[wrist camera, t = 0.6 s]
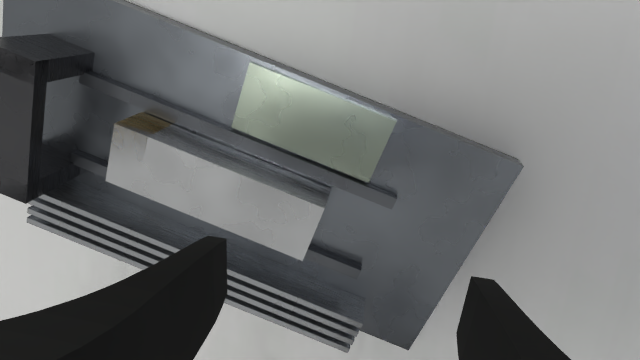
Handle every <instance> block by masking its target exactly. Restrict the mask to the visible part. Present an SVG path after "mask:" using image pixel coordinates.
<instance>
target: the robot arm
mask: <svg viewBox="0 0 640 360" xmlns="http://www.w3.org/2000/svg"><path fill="white" fill-rule="evenodd" d="M226 296H227V239H226V238H219V237H213V236H206V237H204V238H202V239H200V240H198V241H196V242H194V243H192V244H190V245H189V246H187V247H185V248H183V249H181V250H180V251H178V252H176V253H174V254H172V255H171V256H169V257H167V258H165V259H163V260H161V261H160V262H158V263H156V264H154V265H152V266H150V267H148V268H146V269H144V270H142V271H140V272H138V273H136V274H134V275H132V276H130V277H128V278H126V279H124V280H122V281H119V282H117V283H115V284H113V285H110V286H108V287H106V288H103V289H101V290H98V291H96V292H93V293H90V294H88V295H85V296H83V297H80V298H77V299H74V300H71V301H68V302H65V303H62V304H59V305H56V306H53V307H49V308H46V309H43V310H40V311H37V312H33V313H29V314H26V315H22V316H18V317H14V318H10V319H6V320H2V321H0V360H193V359H194V357H195V356H196V354H197V352H198V351H199V349H200V347H201V346H202V344H203V342H204V341H205V339H206V337H207V336H208V334H209V332H210V331H211V329H212V327H213V325H214V324H215V322H216V320H217V317H218V315H219V313H220V311H221V308H222V306H223V303H224V301H225V299H226ZM457 345H458V356H459V360H571V359H570V358H569V357H568V356H567V355H565V354H564V353H563V352H562V351H561V350H560V349H559V348H558V347H557V346H556V345H555V344H554V343H553V342H552V341H551V340H550V339H549V338H548V337H547V336H546V335H545V334H544V333H543V332H542V331H541V330H540V329H539V328H538V327H537V326H536V325H535V324H534V323H533V322H532V321H531V320H530V319H529V318H528V316H527V315H526V314H525V313H524V312H523V311H522V310H521V309H520V308H519V307H518V306H517V304H516V303H515V302H514V301H513V300H512V299H511V298H510V297H509V296H508V295H507V293H506V292H505V291H504V290H503V289H502V288H501V287H500V286H499V285H498V284H497V283H496V282H495V281H494V280H492V279H485V278H479V277H472V276H471V279H470V283H469V287H468V291H467V295H466V298H465V302H464V306H463V310H462V314H461V318H460V322H459V325H458V329H457Z"/></svg>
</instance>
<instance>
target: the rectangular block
mask: <svg viewBox="0 0 640 360" xmlns="http://www.w3.org/2000/svg"><path fill="white" fill-rule="evenodd" d="M105 181H107V182H109V183H112V184H114V185H117V186H119V187H121V188H124V189H126V190H129V191H131V192H134V193H136V194H139V195H141V196H144V197H146V198H149V199H151V200H154V201H156V202H158V203H161V204H163V205H166V206H168V207H171V208H173V209H176V210H178V211H181V212H183V213H186V214H188V215H190V216H193V217H195V218H198V219H200V220H203V221H205V222H208V223H210V224H213V225H215V226H218V227H220V228H222V229H225V230H227V231H230V232H232V233H235V234H237V235H240V236H242V237H245V238H247V239H250V240H252V241H254V242H257V243H259V244H262V245H264V246H267V247H269V248H272V249H274V250H277V251H279V252H282V253H284V254H286V255H289V256H291V257H294V258H296V259H299V260H301V261H303V259H304V257H305V254H306V252H307V249H308V247H309V245H310V242H311V240H312V238H313V235H314V233H315V230H316V228H317V226H318V223H319V221H320V219H321V216H322V214H323V211H324V209H325V206H326V203H327V200H328V197H329V194H330V191H331V188H328V187H326V186H323V185H321V184H318V183H316V182H313V181H311V180H308V179H306V178H303V177H301V176H298V175H296V174H294V173H291V172H289V171H286V170H284V169H281V168H279V167H276V166H274V165H271V164H269V163H266V162H264V161H261V160H259V159H257V158H254V157H252V156H249V155H247V154H244V153H242V152H239V151H237V150H234V149H232V148H229V147H227V146H224V145H222V144H219V143H217V142H215V141H212V140H210V139H207V138H205V137H202V136H200V135H197V134H195V133H192V132H190V131H187V130H185V129H182V128H180V127H177V126H175V125H173V124H170V123H168V122H165V121H163V120H160V119H158V118H155V117H153V116H150V115H148V114H145V113H143V112H140V113H138V114H136V115H133V116H131V117H128V118H126V119H124V120H121V121H119V122H116V123H114V129H113V135H112V142H111V148H110V154H109V161H108V167H107V174H106V180H105Z"/></svg>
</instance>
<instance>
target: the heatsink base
mask: <svg viewBox="0 0 640 360" xmlns="http://www.w3.org/2000/svg"><path fill="white" fill-rule="evenodd" d="M140 112H143V113H145V114H148V115H150V116H153V117H155V118H158V119H160V120H163V121H165V122H168V123H170V124H173V125H175V126H177V127H180V128H182V129H185V130H187V131H190V132H192V133H195V134H197V135H200V136H202V137H205V138H207V139H210V140H212V141H215V142H217V143H219V144H222V145H224V146H227V147H229V148H232V149H234V150H237V151H239V152H242V153H244V154H247V155H249V156H252V157H254V158H257V159H259V160H261V161H264V162H266V163H269V164H271V165H274V166H276V167H279V168H281V169H284V170H286V171H289V172H291V173H294V174H296V175H298V176H301V177H303V178H306V179H308V180H311V181H313V182H316V183H318V184H321V185H323V186H326V187H328V188H331V191H330V194H329V197H328V200H327V203H326V206H325V209H324V211H323V214H322V216H321V219H320V221H319V223H318V226H317V228H316V230H315V233H314V235H313V238H312V240H311V242H310V245H309V247H308V249H307V252H306V254H305V257H304V259H303V261H301V260H299V259H296V258H294V257H291V256H289V255H286V254H284V253H282V252H279V251H277V250H274V249H272V248H269V247H267V246H264V245H262V244H259V243H257V242H254V241H252V240H250V239H247V238H245V237H242V236H240V235H237V234H235V233H232V232H230V231H227V230H225V229H222V228H220V227H218V226H215V225H213V224H210V223H208V222H205V221H203V220H200V219H198V218H195V217H193V216H190V215H188V214H186V213H183V212H181V211H178V210H176V209H173V208H171V207H168V206H166V205H163V204H161V203H158V202H156V201H154V200H151V199H149V198H146V197H144V196H141V195H139V194H136V193H134V192H131V191H129V190H126V189H124V188H121V187H119V186H117V185H114V184H112V183H109V182H107V181H105V180H106V174H107V167H108V161H109V154H110V148H111V142H112V135H113V129H114V123H116V122H119V121H121V120H124V119H126V118H128V117H131V116H133V115H136V114H138V113H140ZM523 167H524V166H523V165H522V164H521V163H520V161H519V160H518V159H516V158H514V157H511V156H509V155H506V154H504V153H501V152H499V151H497V150H494V149H492V148H489V147H487V146H484V145H482V144H479V143H477V142H474V141H472V140H469V139H467V138H464V137H462V136H459V135H457V134H454V133H452V132H449V131H447V130H444V129H442V128H440V127H437V126H435V125H432V124H430V123H427V122H425V121H422V120H420V119H417V118H415V117H412V116H410V115H407V114H405V113H402V112H400V111H397V110H395V109H392V108H390V107H387V106H385V105H382V104H380V103H378V102H375V101H373V100H370V99H368V98H365V97H363V96H360V95H358V94H355V93H353V92H350V91H348V90H345V89H343V88H340V87H338V86H335V85H333V84H330V83H328V82H325V81H323V80H321V79H318V78H316V77H313V76H311V75H308V74H306V73H303V72H301V71H298V70H296V69H293V68H291V67H288V66H286V65H283V64H281V63H278V62H276V61H273V60H271V59H268V58H266V57H264V56H261V55H259V54H256V53H254V52H251V51H249V50H246V49H244V48H241V47H239V46H236V45H234V44H231V43H229V42H226V41H224V40H221V39H219V38H216V37H214V36H211V35H209V34H207V33H204V32H202V31H199V30H197V29H194V28H192V27H189V26H187V25H184V24H182V23H179V22H177V21H174V20H172V19H169V18H167V17H164V16H162V15H159V14H157V13H154V12H152V11H150V10H147V9H145V8H142V7H140V6H137V5H135V4H132V3H130V2H127V1H125V0H4V1H3V33H2V37H0V193H1V194H3V195H6V196H8V197H11V198H13V199H16V200H18V201H21V202H23V203H25V204H26V203H29V204H31V205H33V206H31V207H29V208H28V211H27V213H29V214H31V216H29V217H27V223H30V224H32V225H35V226H37V227H39V228H42V229H44V230H47V231H49V232H52V233H54V234H57V235H59V236H62V237H64V238H66V239H69V240H71V241H74V242H76V243H79V244H81V245H84V246H86V247H89V248H91V249H93V250H96V251H98V252H101V253H103V254H106V255H108V256H111V257H113V258H116V259H118V260H120V261H123V262H125V263H128V264H130V265H133V266H135V267H138V268H140V269H143V270H144V269H146V268H148V267H150V266H152V265H154V264H156V263H158V262H160V261H161V260H163V259H165V258H167V257H169V256H171V255H172V254H174V253H176V252H178V251H180V250H181V249H183V248H185V247H187V246H189V245H190V244H192V243H194V242H196V241H198V240H200V239H202V238H204V237H206V236H213V237H219V238H226V239H227V296H226V299H225V301H224V303H226V304H229V305H231V306H233V307H236V308H238V309H241V310H243V311H246V312H248V313H251V314H253V315H256V316H258V317H260V318H263V319H265V320H268V321H270V322H273V323H275V324H278V325H280V326H283V327H285V328H287V329H290V330H292V331H295V332H297V333H300V334H302V335H305V336H307V337H310V338H312V339H314V340H317V341H319V342H322V343H324V344H327V345H329V346H332V347H334V348H337V349H339V350H341V351H344V352H346V353H348V351H349V349H350V344H351V345H352V344H353V342H354V336H355V337H356V336H357V334H358V332H359V330H360V331H362V332H365V333H367V334H370V335H372V336H375V337H377V338H380V339H382V340H384V341H387V342H389V343H392V344H394V345H397V346H399V347H402V348H404V349H407V350H409V349H410V347H411V345H412V344H413V342H414V341H415V339H416V337H417V336H418V334H419V333H420V331H421V329H422V328H423V326H424V325H425V323H426V321H427V320H428V318H429V317H430V315H431V313H432V312H433V310H434V309H435V307H436V305H437V304H438V302H439V301H440V299H441V297H442V296H443V294H444V293H445V291H446V289H447V288H448V286H449V285H450V283H451V281H452V280H453V278H454V277H455V275H456V273H457V272H458V270H459V269H460V267H461V266H462V264H463V262H464V261H465V259H466V258H467V256H468V254H469V253H470V251H471V250H472V248H473V246H474V245H475V243H476V242H477V240H478V238H479V237H480V235H481V234H482V232H483V230H484V229H485V227H486V226H487V224H488V222H489V221H490V219H491V218H492V216H493V214H494V213H495V211H496V210H497V208H498V206H499V205H500V203H501V202H502V200H503V198H504V197H505V195H506V194H507V192H508V190H509V189H510V187H511V186H512V184H513V183H514V181H515V179H516V178H517V176H518V175H519V173H520V171H521V170H522V168H523Z"/></svg>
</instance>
